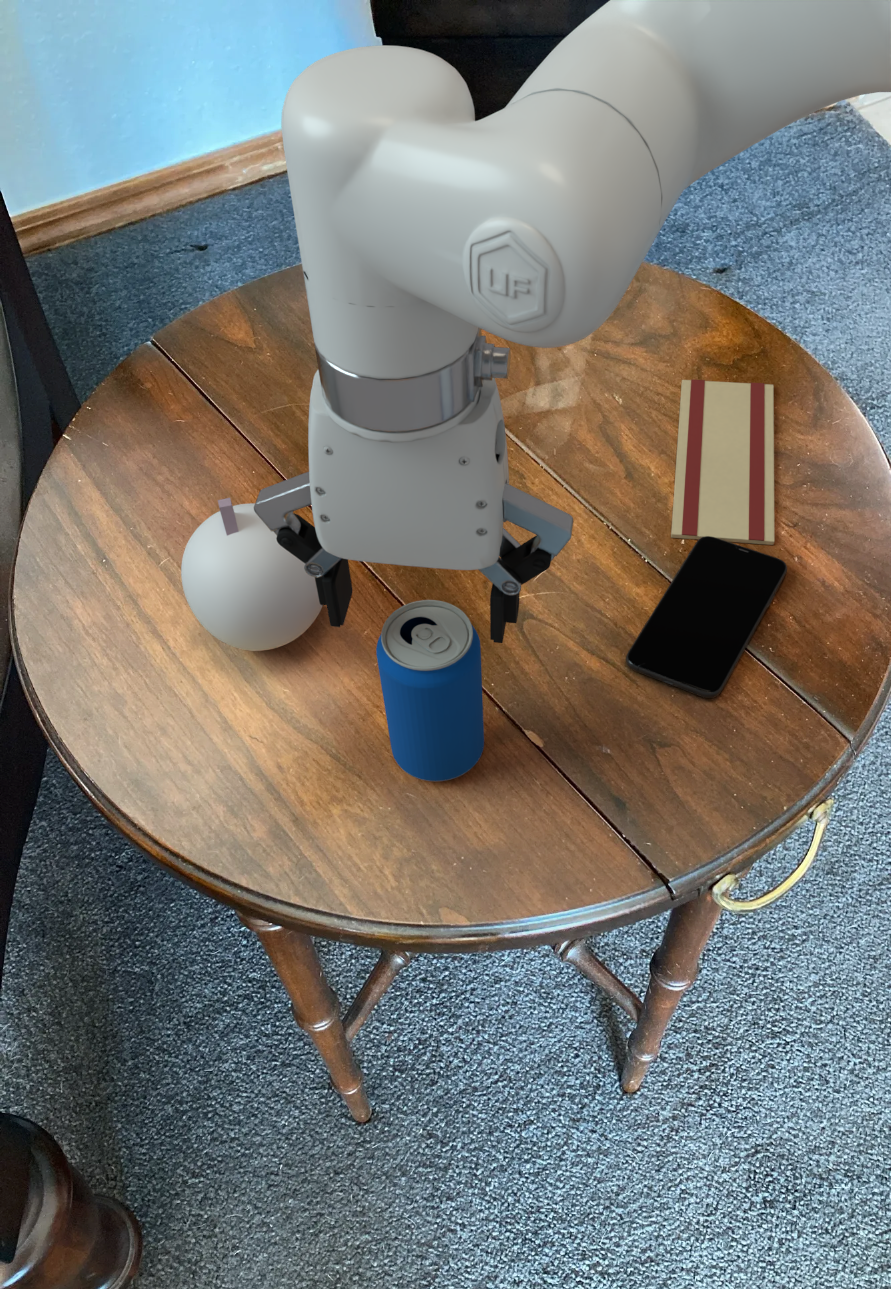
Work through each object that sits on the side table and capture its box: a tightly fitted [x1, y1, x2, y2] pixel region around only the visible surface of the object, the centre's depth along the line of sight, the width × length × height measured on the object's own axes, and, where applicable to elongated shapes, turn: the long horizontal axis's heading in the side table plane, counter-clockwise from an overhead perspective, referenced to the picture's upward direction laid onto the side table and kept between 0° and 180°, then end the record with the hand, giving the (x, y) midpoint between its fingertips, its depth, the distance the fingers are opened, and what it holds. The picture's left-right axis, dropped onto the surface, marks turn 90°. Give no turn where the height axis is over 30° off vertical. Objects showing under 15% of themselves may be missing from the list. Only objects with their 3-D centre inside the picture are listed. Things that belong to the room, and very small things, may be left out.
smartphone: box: [625, 536, 788, 699], centre depth 80 cm, size 7×1×15 cm
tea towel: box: [670, 379, 775, 546], centre depth 91 cm, size 8×20×1 cm, turn 171°
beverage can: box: [375, 599, 485, 782], centre depth 70 cm, size 6×6×12 cm
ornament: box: [180, 497, 324, 652], centre depth 78 cm, size 10×10×12 cm
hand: (420, 617), depth 65 cm, fingers open, 9 cm apart
